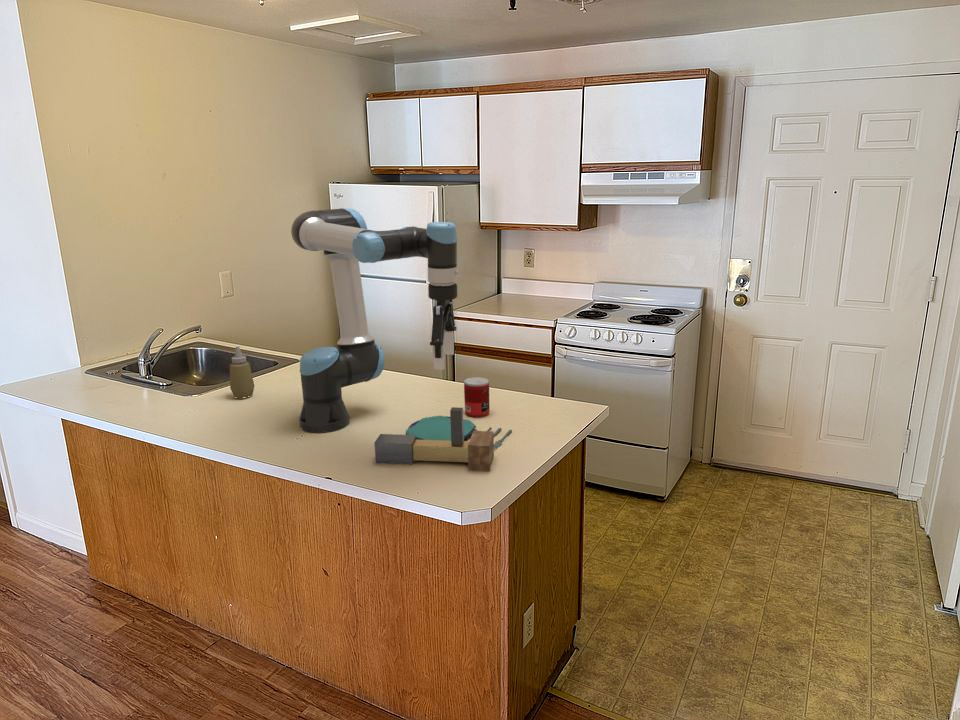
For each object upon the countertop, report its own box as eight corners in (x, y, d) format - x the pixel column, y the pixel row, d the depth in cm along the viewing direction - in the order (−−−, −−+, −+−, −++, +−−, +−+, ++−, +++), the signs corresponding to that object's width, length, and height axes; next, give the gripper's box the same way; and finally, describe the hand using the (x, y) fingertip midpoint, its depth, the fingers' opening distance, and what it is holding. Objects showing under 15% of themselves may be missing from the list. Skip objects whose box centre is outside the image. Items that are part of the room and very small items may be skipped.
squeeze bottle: (260, 395, 240) (254, 345, 235) (241, 401, 234) (235, 351, 229) (245, 391, 245) (239, 343, 240) (226, 398, 238) (220, 348, 233)
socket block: (468, 470, 178) (467, 445, 176) (473, 454, 188) (473, 430, 186) (489, 470, 177) (489, 446, 175) (493, 455, 187) (493, 431, 185)
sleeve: (375, 463, 183) (374, 442, 182) (381, 454, 189) (380, 433, 187) (412, 464, 182) (411, 443, 180) (417, 455, 188) (416, 435, 186)
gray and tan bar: (398, 459, 183) (395, 410, 179) (401, 453, 187) (399, 404, 183) (479, 462, 180) (478, 412, 176) (481, 456, 184) (480, 406, 180)
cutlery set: (427, 418, 216) (427, 411, 215) (516, 432, 204) (516, 425, 204) (395, 442, 198) (394, 434, 198) (490, 458, 187) (490, 451, 186)
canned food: (487, 418, 214) (486, 385, 211) (462, 417, 216) (461, 383, 213) (491, 410, 221) (491, 377, 218) (467, 408, 223) (466, 376, 220)
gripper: (447, 292, 165) (449, 376, 171) (464, 275, 188) (465, 349, 194) (417, 292, 166) (419, 375, 172) (438, 274, 189) (439, 348, 196)
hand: (444, 361), depth 183 cm, fingers open, 13 cm apart
